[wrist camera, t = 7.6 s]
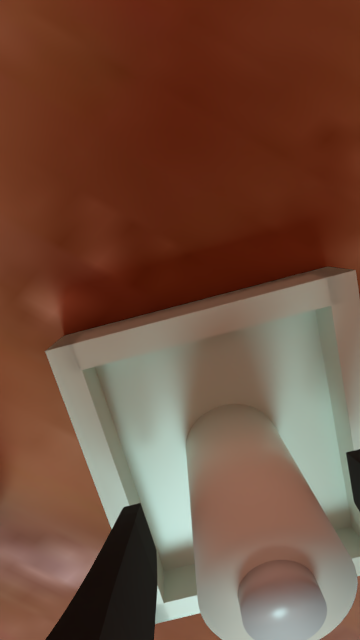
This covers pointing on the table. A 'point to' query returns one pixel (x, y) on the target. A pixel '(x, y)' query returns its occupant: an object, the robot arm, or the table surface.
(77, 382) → the trough tray
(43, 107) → the table surface
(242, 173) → the table surface
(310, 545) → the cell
